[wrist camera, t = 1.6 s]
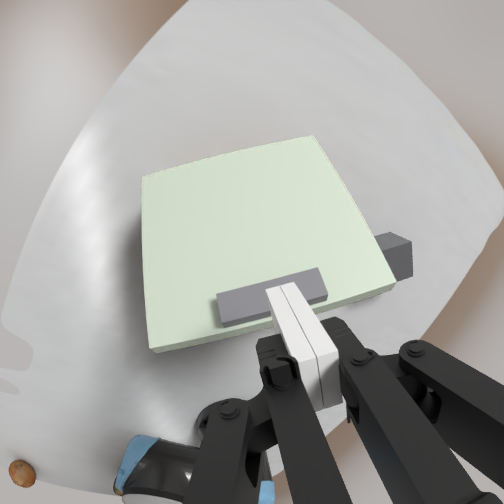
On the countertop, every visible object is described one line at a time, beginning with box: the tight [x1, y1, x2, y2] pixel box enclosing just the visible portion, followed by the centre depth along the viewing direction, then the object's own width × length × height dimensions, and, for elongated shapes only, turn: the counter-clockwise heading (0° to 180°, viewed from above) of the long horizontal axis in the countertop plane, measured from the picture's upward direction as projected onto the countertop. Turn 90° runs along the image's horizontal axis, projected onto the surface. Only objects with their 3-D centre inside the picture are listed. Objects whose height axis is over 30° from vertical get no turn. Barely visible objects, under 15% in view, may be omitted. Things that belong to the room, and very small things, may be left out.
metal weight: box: [374, 232, 413, 282], centre depth 48 cm, size 6×6×7 cm
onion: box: [9, 460, 36, 488], centre depth 55 cm, size 10×10×10 cm
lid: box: [142, 136, 397, 353], centre depth 28 cm, size 20×20×3 cm
